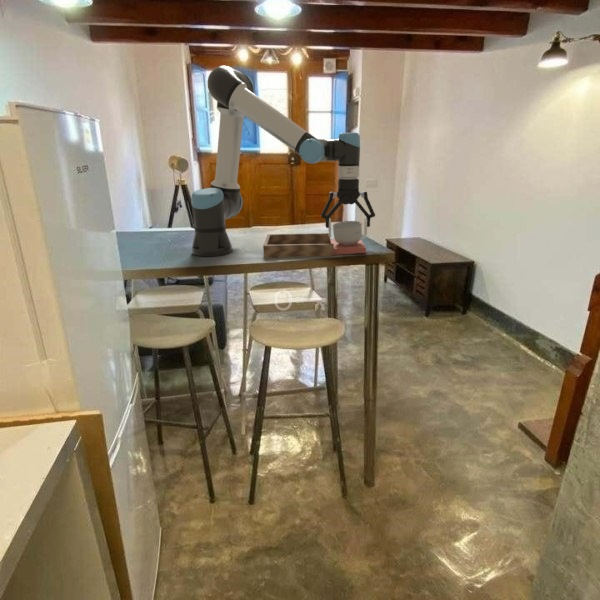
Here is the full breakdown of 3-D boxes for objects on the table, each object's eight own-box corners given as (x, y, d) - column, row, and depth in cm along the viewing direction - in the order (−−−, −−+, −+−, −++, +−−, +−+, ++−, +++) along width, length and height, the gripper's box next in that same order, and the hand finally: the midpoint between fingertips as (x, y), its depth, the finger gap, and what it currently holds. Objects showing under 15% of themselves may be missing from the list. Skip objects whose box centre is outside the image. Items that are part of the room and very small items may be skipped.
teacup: (360, 247, 153) (360, 225, 151) (331, 247, 156) (330, 226, 153) (363, 239, 166) (362, 218, 163) (335, 239, 168) (335, 219, 166)
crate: (263, 257, 153) (263, 245, 151) (268, 245, 172) (267, 234, 170) (333, 256, 152) (333, 244, 151) (329, 243, 171) (330, 233, 170)
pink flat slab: (333, 249, 153) (366, 247, 153) (330, 239, 169) (359, 237, 169) (333, 254, 154) (366, 252, 153) (330, 244, 170) (359, 242, 170)
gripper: (314, 179, 149) (315, 238, 157) (384, 178, 149) (381, 237, 156) (314, 178, 156) (314, 234, 164) (381, 176, 156) (378, 233, 163)
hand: (347, 236), depth 160 cm, fingers open, 13 cm apart
